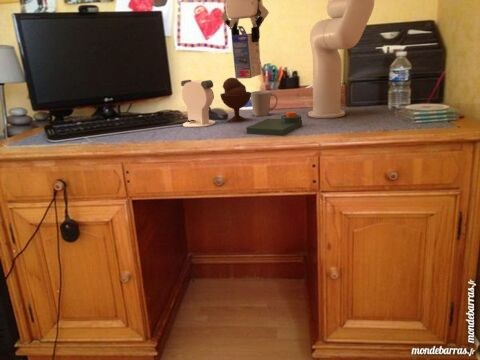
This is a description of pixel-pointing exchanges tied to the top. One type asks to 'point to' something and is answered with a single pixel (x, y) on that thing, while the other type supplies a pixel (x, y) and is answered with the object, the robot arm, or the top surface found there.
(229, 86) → the ice cream bowl
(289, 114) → the tare button
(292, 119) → the scale
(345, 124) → the top surface
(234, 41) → the ink cartridge box
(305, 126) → the top surface
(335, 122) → the top surface
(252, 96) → the cup
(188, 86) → the beige round-topped stand
